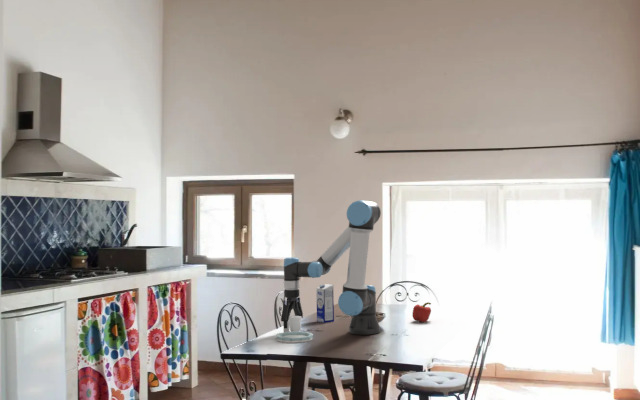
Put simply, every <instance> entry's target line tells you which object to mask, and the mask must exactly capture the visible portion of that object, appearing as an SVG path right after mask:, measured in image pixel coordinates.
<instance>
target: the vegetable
mask: <svg viewBox="0 0 640 400" xmlns="http://www.w3.org/2000/svg"><path fill="white" fill-rule="evenodd" d="M431 304H432V303H431V302H425V303H424V304H423V305H420V304H415V306H413V308H412V319H413V320H414V321H415V322H417V321H418V322H420V323H425V322H427V321H428V320H429V318H430V315H431V313H432V310H431V307H429V306H430V305H431ZM427 305H429V306H427Z"/></svg>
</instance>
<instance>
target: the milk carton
mask: <svg viewBox="0 0 640 400" xmlns="http://www.w3.org/2000/svg"><path fill="white" fill-rule="evenodd" d="M315 289H316V295H315V296H316V322H320V323H323V324H325V323H326V324H327V323H333V322H335V309H334V308H335V307H334V306H335V305H334V304H335V303H334V302H335V301H334V295H335V294H334V285H333V284H330V283H325V284H321V285H319V286H318V287H316V288H315Z"/></svg>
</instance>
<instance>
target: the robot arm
mask: <svg viewBox="0 0 640 400" xmlns="http://www.w3.org/2000/svg"><path fill="white" fill-rule="evenodd" d="M381 213H382V212H381V208H380V206H379V205H378V203H377V202H375V201H372V200H363V199H362V200H361V199H359V200H355V201H353V202H352V203H350V204H349V206H348V207H347V210H346V219H347V220H348V226H347V227H346V228H345V229H344V230H343V232H341V234H340V235H339V236H338V237H337V238H336V239H335V240H334V241H333V243H331V245H329V247H328V248H326V250H325V251H324V252H323V253H322V254H321V255H320V256H319V257H318V258H317V259H316V260H313V261H300V258H299V257H285V258H284V260H283V288H284V290H283V295H284V298H286V300H283V303H282V305H283V306H282V313H281V318H280V321H281V322H282V326H283V325H284V326H283V333H284V332H289V331H290V327H289V321H288V320H289V316H290V315H291V313H292V310H293V312H294V314H295V315H294V316H302V318H303V316H304V313H303V308H302V305H301V297H300V278H312V279H314V278H315V279H316V278H320V277H322V276H325V275H326V274H328V273H330V271H331V268H332V267H333V265H334V264H335V263H336V262H338V260H339V259H340V258H342V256H343V255H344V253H346V252H347V250H349V252H348V253H349V255H348V264H347V274H346V275H347V276H346V282H345V283H343V284H342V293H341V294H340V295H339V296H338V299H337V300H338V301H337V305H338V308H339V310H340V311H341V312H342V313H343V314H345V315H347V316H351V320H350V322H349V323H350V324H349V327H348V331H349V333H350V334H353V335H363V336H364V335H366V336H367V335H376V334H379V333H380V332H381V328H380V325H379V321H378V318H377V301H376V300H377V297H376V296H377V295H376V294H377V291H376V287H375V285H367V284H366V274H367V265H368V264H367V263H368V255H369V254H368V253H369V243H370V241H369V240H370V234H371V233H372V232H373V231H374V226H375V224H376V223H378V221H379V220H380V218H381V215H382V214H381ZM300 331H302V325H301V326H300Z"/></svg>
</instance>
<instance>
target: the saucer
mask: <svg viewBox="0 0 640 400" xmlns="http://www.w3.org/2000/svg"><path fill="white" fill-rule="evenodd" d="M275 336H276V338H275V339H276V341H277V342H280V343H287V344H288V343H289V344H290V343H292V344H294V343H295V344H297V343H305V342H310V341H313V340H314V334H313V333H312V332H310V331H309V332H308V331H297V332H291V331H290V332H284V331H283V332H279V333H277V334H276V335H275Z"/></svg>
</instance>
